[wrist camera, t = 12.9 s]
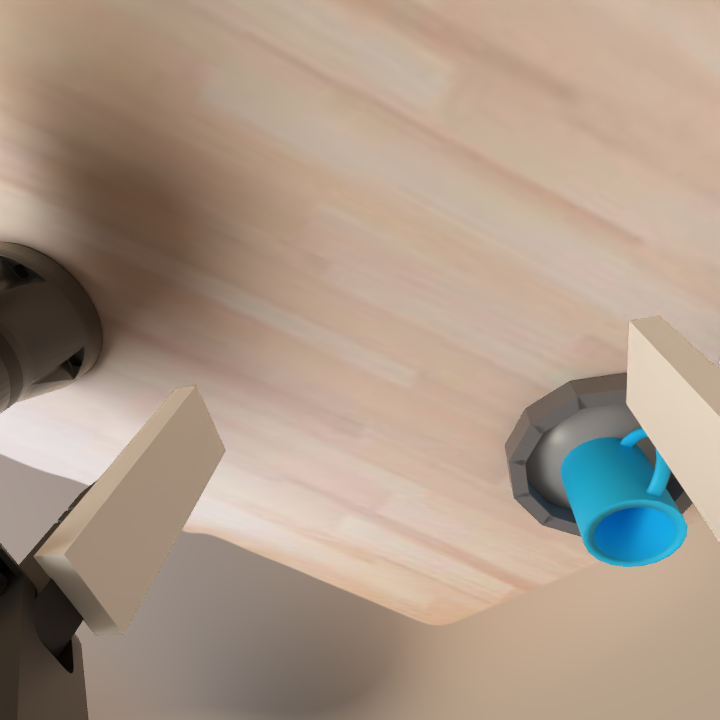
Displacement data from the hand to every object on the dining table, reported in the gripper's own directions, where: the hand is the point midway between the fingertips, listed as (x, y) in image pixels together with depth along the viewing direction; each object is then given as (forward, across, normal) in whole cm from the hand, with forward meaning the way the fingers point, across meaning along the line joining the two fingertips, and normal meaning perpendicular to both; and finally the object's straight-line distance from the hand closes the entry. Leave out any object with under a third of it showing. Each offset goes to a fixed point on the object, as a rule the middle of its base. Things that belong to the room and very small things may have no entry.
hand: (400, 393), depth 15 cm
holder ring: (+27, +14, -27) cm, 41 cm away
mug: (+27, +15, -27) cm, 41 cm away
